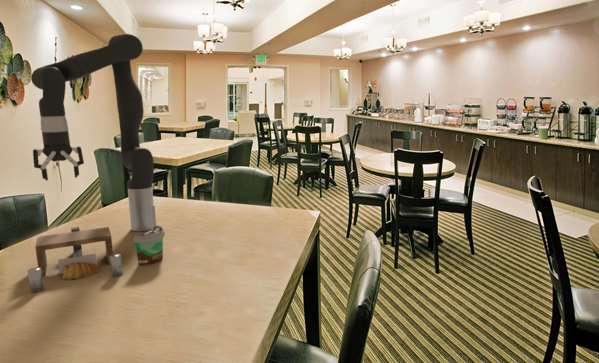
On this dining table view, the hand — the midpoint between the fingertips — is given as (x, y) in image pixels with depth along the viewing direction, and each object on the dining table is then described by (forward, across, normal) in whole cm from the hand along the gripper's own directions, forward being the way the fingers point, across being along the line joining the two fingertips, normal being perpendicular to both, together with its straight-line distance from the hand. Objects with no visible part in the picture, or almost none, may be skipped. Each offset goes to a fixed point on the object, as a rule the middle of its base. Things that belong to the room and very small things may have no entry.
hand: (61, 178), depth 134 cm
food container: (+26, -23, +25) cm, 43 cm away
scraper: (+25, -2, +12) cm, 28 cm away
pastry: (+26, -1, +24) cm, 36 cm away
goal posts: (+25, -1, +31) cm, 40 cm away
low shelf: (+25, -2, +16) cm, 30 cm away
